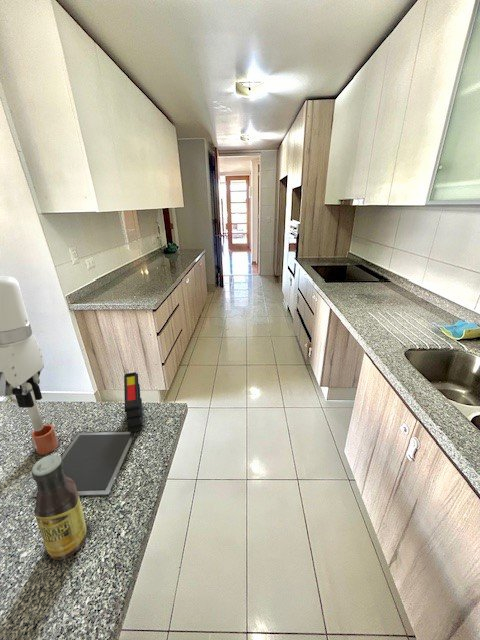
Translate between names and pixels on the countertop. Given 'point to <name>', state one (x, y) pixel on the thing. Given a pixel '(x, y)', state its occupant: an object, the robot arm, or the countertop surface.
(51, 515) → the sauce bottle
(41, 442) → the holder
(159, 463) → the countertop surface
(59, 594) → the countertop surface
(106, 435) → the tablet
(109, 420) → the countertop surface
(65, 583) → the countertop surface
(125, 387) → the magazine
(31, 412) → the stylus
